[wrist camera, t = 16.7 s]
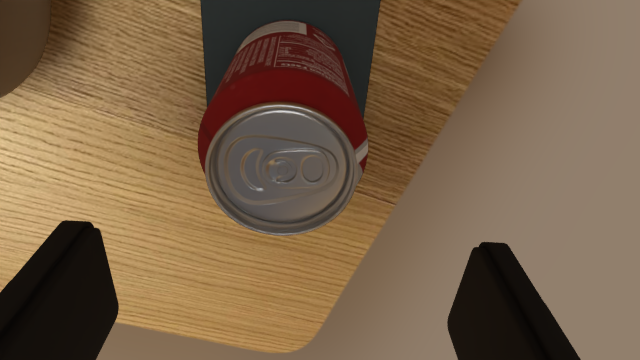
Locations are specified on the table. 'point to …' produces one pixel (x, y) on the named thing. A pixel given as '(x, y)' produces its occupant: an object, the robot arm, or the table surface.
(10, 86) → the bowl
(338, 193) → the soda can
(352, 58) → the coaster mat
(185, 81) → the table surface
